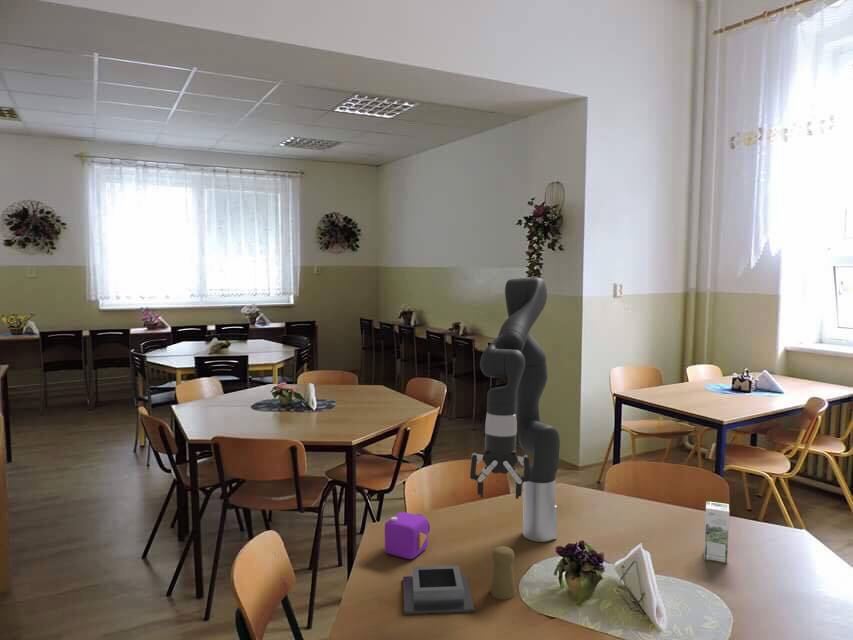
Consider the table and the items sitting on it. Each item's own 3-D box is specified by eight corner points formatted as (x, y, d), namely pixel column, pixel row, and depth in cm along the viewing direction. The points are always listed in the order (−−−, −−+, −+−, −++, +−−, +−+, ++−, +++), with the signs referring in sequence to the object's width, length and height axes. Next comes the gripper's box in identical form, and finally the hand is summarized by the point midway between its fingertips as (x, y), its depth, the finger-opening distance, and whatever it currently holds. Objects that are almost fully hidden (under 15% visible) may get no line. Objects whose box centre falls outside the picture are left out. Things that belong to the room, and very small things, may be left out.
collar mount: (466, 577, 159) (466, 561, 158) (474, 612, 143) (474, 594, 142) (403, 579, 158) (402, 563, 157) (404, 614, 142) (404, 596, 141)
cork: (515, 586, 154) (515, 543, 153) (516, 599, 148) (516, 555, 147) (490, 585, 154) (490, 542, 153) (490, 598, 148) (490, 554, 147)
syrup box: (727, 555, 170) (729, 503, 168) (727, 564, 164) (729, 510, 163) (704, 551, 172) (705, 499, 171) (703, 560, 167) (705, 507, 166)
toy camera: (435, 541, 179) (435, 507, 179) (419, 563, 167) (418, 526, 166) (400, 536, 183) (399, 503, 182) (381, 557, 170) (381, 521, 169)
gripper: (529, 428, 155) (527, 493, 156) (471, 426, 156) (469, 490, 157) (531, 436, 147) (529, 503, 148) (471, 433, 148) (469, 501, 149)
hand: (499, 497), depth 152 cm, fingers open, 8 cm apart
